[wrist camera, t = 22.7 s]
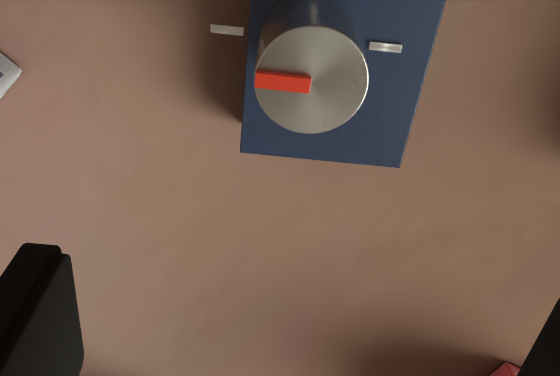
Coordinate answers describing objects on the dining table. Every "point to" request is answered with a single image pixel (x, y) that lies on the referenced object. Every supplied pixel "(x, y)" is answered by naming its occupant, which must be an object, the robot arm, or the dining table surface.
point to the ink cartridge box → (506, 370)
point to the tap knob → (309, 66)
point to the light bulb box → (7, 74)
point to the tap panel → (380, 95)
